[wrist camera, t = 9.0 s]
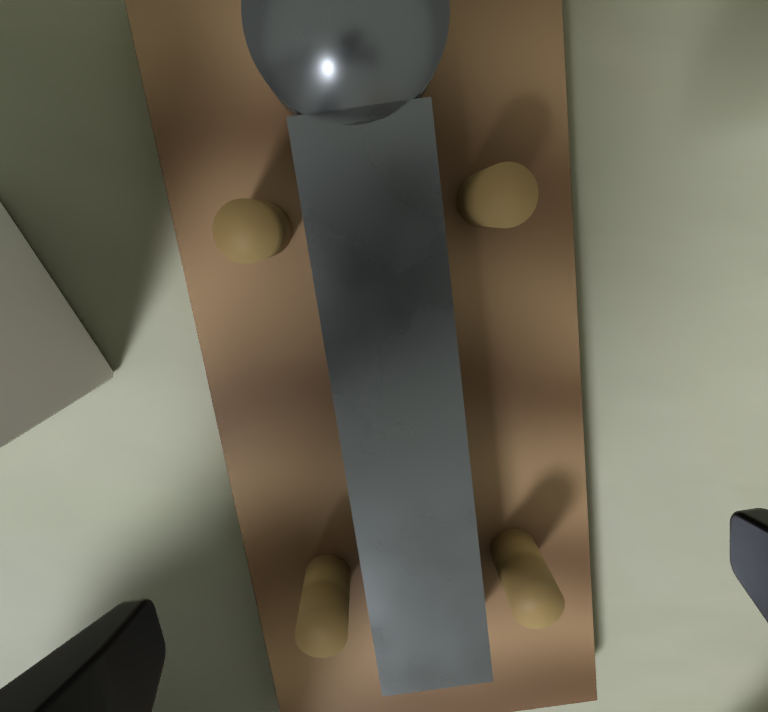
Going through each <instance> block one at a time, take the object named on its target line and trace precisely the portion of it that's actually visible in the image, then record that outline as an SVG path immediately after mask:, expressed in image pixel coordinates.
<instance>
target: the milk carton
mask: <svg viewBox="0 0 768 712" xmlns="http://www.w3.org/2000/svg"><path fill="white" fill-rule="evenodd" d="M112 377H113V371H112V369H111V368H110V366H109V364H108V363H107V361H106V359H105V358H104V356H103V355H102V353H101V352H100V350H99V349H98V347H97V346H96V344H95V343H94V341H93V340H92V338H91V337H90V335H89V334H88V332H87V331H86V329H85V328H84V326H83V325H82V323H81V322H80V320H79V319H78V317H77V316H76V314H75V313H74V311H73V310H72V308H71V307H70V305H69V304H68V302H67V301H66V299H65V298H64V296H63V295H62V293H61V292H60V290H59V289H58V287H57V286H56V284H55V283H54V281H53V280H52V278H51V277H50V275H49V274H48V272H47V271H46V269H45V268H44V266H43V265H42V263H41V262H40V260H39V259H38V257H37V256H36V254H35V253H34V251H33V250H32V248H31V247H30V245H29V244H28V242H27V241H26V239H25V238H24V236H23V235H22V233H21V232H20V230H19V229H18V228H17V226H16V225H15V223H14V222H13V220H12V219H11V217H10V216H9V214H8V213H7V211H6V210H5V208H4V207H3V205H2V204H1V202H0V448H1V447H3V446H4V445H6V444H8V443H9V442H11V441H12V440H14V439H16V438H17V437H19V436H20V435H22V434H24V433H25V432H27V431H28V430H30V429H32V428H33V427H35V426H36V425H38V424H40V423H41V422H43V421H44V420H46V419H48V418H49V417H51V416H53V415H54V414H56V413H57V412H59V411H61V410H62V409H64V408H65V407H67V406H69V405H70V404H72V403H73V402H75V401H77V400H78V399H80V398H81V397H83V396H85V395H86V394H88V393H89V392H91V391H93V390H94V389H96V388H97V387H99V386H101V385H102V384H104V383H105V382H107V381H108V380H110V379H111V378H112Z"/></svg>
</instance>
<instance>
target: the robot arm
mask: <svg viewBox="0 0 768 712" xmlns="http://www.w3.org/2000/svg"><path fill="white" fill-rule="evenodd" d="M730 562H731V566H732V569H733V572H734V574H735V575H736V577H737V579H738V580H739V582H740V583H741V584H742V586H743V587H744V589H745V590H746V592H747V593H748V595H749V596H750V598H751V599H752V600H753V602H754V603H755V605H756V606H757V608H758V609H759V611H760V612H761V613H762V615H763V616H764V618H765V619H766V621H767V622H768V510H767V509H763V508H755V509H748V510H741V511H736V512H735V513H734V514H732V516H731V519H730ZM164 660H165V642H164V638H163V634H162V631H161V627H160V624H159V620H158V616H157V613H156V609H155V606H154V604H153V602H152V601H151V600H149V599H147V598H145V599H138V600H131V601H125V602H122V603H120V604H119V605H117V606H116V607H114V608H113V609H112V610H110V611H109V612H107V613H106V614H105V615H103V616H102V617H100V618H99V619H98V620H96V621H95V622H93V623H92V624H91V625H89V626H88V627H86V628H85V629H84V630H82V631H81V632H80V633H78V634H77V635H75V636H74V637H73V638H71V639H70V640H68V641H67V642H66V643H64V644H63V645H61V646H60V647H59V648H57V649H56V650H54V651H53V652H52V653H50V654H49V655H47V656H46V657H45V658H43V659H42V660H40V661H39V662H38V663H36V664H35V665H33V666H32V667H31V668H29V669H28V670H26V671H25V672H24V673H22V674H21V675H19V676H18V677H17V678H15V679H14V680H12V681H11V682H10V683H8V684H7V685H5V686H4V687H3V688H1V689H0V712H152V709H153V705H154V701H155V697H156V693H157V689H158V685H159V681H160V677H161V673H162V669H163V665H164Z"/></svg>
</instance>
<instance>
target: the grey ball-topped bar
mask: <svg viewBox="0 0 768 712" xmlns="http://www.w3.org/2000/svg"><path fill="white" fill-rule="evenodd" d="M241 17H242V25H243V31H244V35H245V40H246V44H247V46H248V49H249V52H250V55H251V57H252V59H253V61H254V63H255V65H256V67H257V69H258V71H259V73H260V74H261V76H262V77H263V79H264V80H265V82H266V83H267V84H268V86H269V87H270V88H271V90H272V91H273V93H274V94H275V95H276V97H277V98H278V99H279V101H280V102H281V103H282V105H283V106H284V107H285V109H286V110H287V111H288V112H289V113H290V114H291V116H289V117H286V119H287V125H288V131H289V137H290V143H291V149H292V155H293V162H294V168H295V174H296V180H297V186H298V192H299V198H300V204H301V210H302V216H303V222H304V228H305V234H306V240H307V246H308V252H309V258H310V264H311V270H312V276H313V282H314V288H315V294H316V300H317V306H318V312H319V318H320V324H321V330H322V336H323V342H324V348H325V354H326V360H327V366H328V373H329V379H330V385H331V391H332V397H333V403H334V409H335V415H336V421H337V427H338V433H339V439H340V445H341V451H342V457H343V463H344V469H345V475H346V481H347V487H348V493H349V499H350V505H351V511H352V517H353V523H354V529H355V535H356V541H357V547H358V553H359V559H360V565H361V571H362V577H363V583H364V590H365V596H366V602H367V608H368V614H369V620H370V626H371V632H372V638H373V644H374V650H375V656H376V662H377V668H378V674H379V680H380V686H381V692H382V697H384V696H391V695H398V694H406V693H413V692H420V691H428V690H435V689H442V688H450V687H457V686H464V685H471V684H479V683H486V682H493V673H492V663H491V654H490V644H489V635H488V626H487V616H486V607H485V597H484V588H483V579H482V569H481V560H480V550H479V541H478V532H477V522H476V513H475V503H474V494H473V485H472V475H471V466H470V456H469V447H468V438H467V428H466V419H465V409H464V400H463V391H462V381H461V372H460V362H459V353H458V344H457V334H456V325H455V315H454V306H453V297H452V287H451V278H450V268H449V259H448V250H447V240H446V231H445V221H444V212H443V203H442V193H441V184H440V175H439V165H438V156H437V146H436V137H435V128H434V118H433V109H432V99H431V97H425V98H423V96H424V94H425V92H426V90H427V88H428V86H429V83H430V81H431V79H432V77H433V75H434V73H435V70H436V68H437V66H438V64H439V62H440V60H441V57H442V54H443V51H444V48H445V45H446V40H447V35H448V30H449V19H450V6H449V0H241Z"/></svg>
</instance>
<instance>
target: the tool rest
mask: <svg viewBox="0 0 768 712" xmlns="http://www.w3.org/2000/svg"><path fill="white" fill-rule="evenodd" d="M125 5H126V9H127V14H128V18H129V23H130V27H131V32H132V37H133V41H134V46H135V50H136V55H137V59H138V64H139V69H140V73H141V78H142V82H143V87H144V91H145V96H146V101H147V105H148V110H149V114H150V119H151V123H152V128H153V133H154V137H155V142H156V146H157V151H158V155H159V160H160V165H161V169H162V174H163V178H164V183H165V187H166V192H167V196H168V201H169V206H170V210H171V215H172V219H173V224H174V228H175V233H176V238H177V242H178V247H179V251H180V256H181V260H182V265H183V270H184V274H185V279H186V283H187V288H188V292H189V297H190V302H191V306H192V311H193V315H194V320H195V324H196V329H197V334H198V338H199V343H200V347H201V352H202V356H203V361H204V366H205V370H206V375H207V379H208V384H209V388H210V393H211V397H212V402H213V407H214V411H215V416H216V420H217V425H218V429H219V434H220V439H221V443H222V448H223V452H224V457H225V461H226V466H227V471H228V475H229V480H230V484H231V489H232V493H233V498H234V503H235V507H236V512H237V516H238V521H239V525H240V530H241V535H242V539H243V544H244V548H245V553H246V557H247V562H248V566H249V571H250V576H251V580H252V585H253V589H254V594H255V598H256V603H257V608H258V612H259V617H260V621H261V626H262V630H263V635H264V640H265V644H266V649H267V653H268V658H269V662H270V667H271V672H272V676H273V681H274V685H275V690H276V694H277V699H278V704H279V708H280V712H513V711H521V710H528V709H535V708H543V707H550V706H558V705H565V704H572V703H580V702H587V701H595V700H597V689H596V669H595V649H594V629H593V609H592V589H591V569H590V550H589V530H588V510H587V490H586V470H585V450H584V430H583V410H582V391H581V371H580V351H579V331H578V311H577V291H576V271H575V251H574V231H573V212H572V192H571V172H570V152H569V132H568V112H567V92H566V72H565V52H564V33H563V13H562V0H449V6H450V19H449V30H448V35H447V40H446V45H445V48H444V51H443V54H442V57H441V60H440V62H439V64H438V66H437V68H436V70H435V73H434V75H433V77H432V79H431V81H430V83H429V86H428V88H427V90H426V92H425V94H424V96H423V98H425V97H431V99H432V109H433V118H434V128H435V137H436V146H437V156H438V165H439V175H440V184H441V193H442V203H443V212H444V221H445V231H446V240H447V250H448V259H449V268H450V278H451V287H452V297H453V306H454V315H455V325H456V334H457V344H458V353H459V362H460V372H461V381H462V391H463V400H464V409H465V419H466V428H467V438H468V447H469V456H470V466H471V475H472V485H473V494H474V503H475V513H476V522H477V532H478V541H479V550H480V560H481V569H482V579H483V588H484V597H485V607H486V616H487V626H488V635H489V644H490V654H491V663H492V673H493V682H486V683H479V684H471V685H464V686H457V687H450V688H442V689H435V690H428V691H420V692H413V693H406V694H398V695H391V696H384V697H382V692H381V686H380V680H379V674H378V668H377V662H376V656H375V650H374V644H373V638H372V632H371V626H370V620H369V614H368V608H367V602H366V596H365V590H364V583H363V577H362V571H361V565H360V559H359V553H358V547H357V541H356V535H355V529H354V523H353V517H352V511H351V505H350V499H349V493H348V487H347V481H346V475H345V469H344V463H343V457H342V451H341V445H340V439H339V433H338V427H337V421H336V415H335V409H334V403H333V397H332V391H331V385H330V379H329V373H328V366H327V360H326V354H325V348H324V342H323V336H322V330H321V324H320V318H319V312H318V306H317V300H316V294H315V288H314V282H313V276H312V270H311V264H310V258H309V252H308V246H307V240H306V234H305V228H304V222H303V216H302V210H301V204H300V198H299V192H298V186H297V180H296V174H295V168H294V162H293V155H292V149H291V143H290V137H289V131H288V125H287V119H286V117H289V116H291V114H290V113H289V112H288V111H287V110H286V109H285V107H284V106H283V105H282V103H281V102H280V101H279V99H278V98H277V97H276V95H275V94H274V93H273V91H272V90H271V88H270V87H269V86H268V84H267V83H266V82H265V80H264V79H263V77H262V76H261V74H260V73H259V71H258V69H257V67H256V65H255V63H254V61H253V59H252V57H251V55H250V52H249V49H248V46H247V44H246V40H245V35H244V31H243V25H242V17H241V0H125Z"/></svg>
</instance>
